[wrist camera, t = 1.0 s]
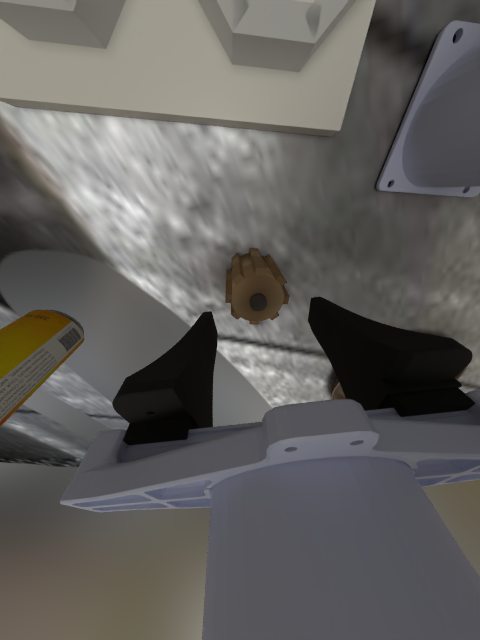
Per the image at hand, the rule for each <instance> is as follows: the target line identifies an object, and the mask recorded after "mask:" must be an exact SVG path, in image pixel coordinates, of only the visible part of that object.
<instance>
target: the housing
mask: <svg viewBox="0 0 480 640" xmlns="http://www.w3.org/2000/svg"><path fill="white" fill-rule="evenodd" d="M375 2H376V0H0V101H2V102H5V103H7V104H10V105H12V106H15V107H25V108H35V109H46V110H56V111H67V112H77V113H88V114H98V115H109V116H119V117H130V118H140V119H151V120H161V121H172V122H182V123H193V124H203V125H214V126H224V127H235V128H245V129H256V130H266V131H277V132H287V133H298V134H308V135H319V136H329V137H330V136H332V135H334V134H335V133H337V132H339V131H340V129H341V125H342V122H343V118H344V115H345V111H346V107H347V104H348V100H349V96H350V93H351V89H352V85H353V82H354V78H355V75H356V71H357V67H358V64H359V60H360V56H361V53H362V49H363V45H364V42H365V38H366V34H367V31H368V27H369V24H370V20H371V16H372V13H373V9H374V5H375Z"/></svg>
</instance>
